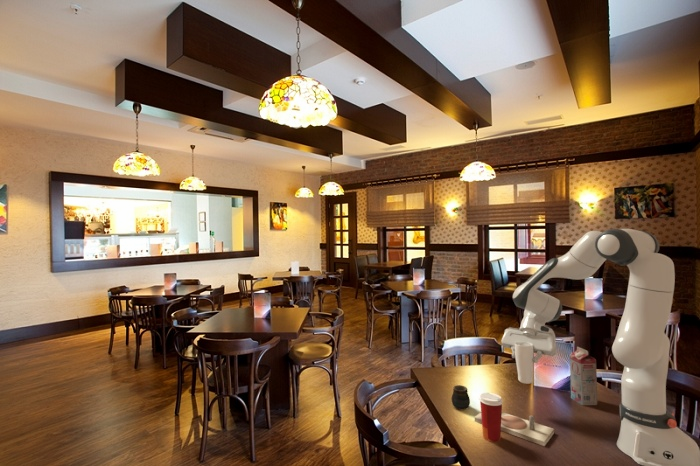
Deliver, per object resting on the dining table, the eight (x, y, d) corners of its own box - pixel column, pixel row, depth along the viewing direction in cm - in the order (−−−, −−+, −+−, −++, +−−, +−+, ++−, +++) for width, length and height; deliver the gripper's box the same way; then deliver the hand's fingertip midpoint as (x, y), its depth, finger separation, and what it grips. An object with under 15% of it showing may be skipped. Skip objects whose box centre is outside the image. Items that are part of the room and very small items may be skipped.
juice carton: (581, 405, 146) (580, 351, 146) (571, 398, 153) (569, 346, 153) (597, 404, 146) (596, 351, 147) (586, 397, 153) (584, 346, 153)
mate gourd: (472, 406, 146) (471, 381, 147) (467, 413, 140) (466, 388, 140) (454, 401, 150) (454, 378, 150) (449, 409, 144) (448, 384, 144)
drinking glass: (537, 385, 138) (535, 346, 138) (518, 384, 139) (516, 346, 140) (532, 378, 145) (530, 341, 145) (514, 377, 146) (512, 341, 146)
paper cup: (507, 437, 123) (506, 396, 123) (498, 446, 118) (497, 403, 118) (485, 428, 129) (484, 389, 129) (475, 437, 123) (474, 396, 124)
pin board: (554, 433, 125) (553, 416, 125) (544, 446, 118) (544, 428, 118) (487, 410, 142) (486, 395, 142) (474, 421, 134) (474, 405, 134)
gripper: (503, 322, 155) (495, 350, 147) (556, 329, 140) (550, 360, 133) (508, 331, 158) (500, 358, 150) (560, 338, 143) (554, 369, 136)
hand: (524, 359), depth 142 cm, fingers closed on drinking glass, 6 cm apart
